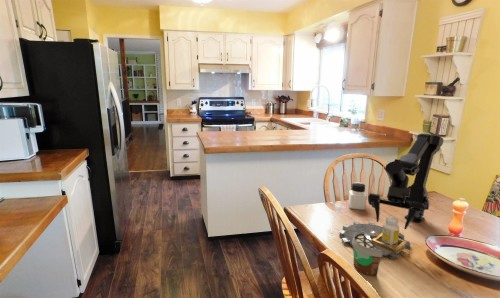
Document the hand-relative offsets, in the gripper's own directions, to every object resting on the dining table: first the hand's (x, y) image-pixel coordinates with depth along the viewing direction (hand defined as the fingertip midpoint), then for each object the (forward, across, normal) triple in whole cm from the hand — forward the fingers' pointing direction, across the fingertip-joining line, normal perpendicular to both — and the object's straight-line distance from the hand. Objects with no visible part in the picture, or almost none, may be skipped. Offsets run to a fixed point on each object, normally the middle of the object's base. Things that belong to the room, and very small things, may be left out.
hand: (390, 225), depth 103 cm
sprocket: (+5, -6, +9) cm, 12 cm away
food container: (+19, -6, -5) cm, 21 cm away
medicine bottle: (-16, -19, +30) cm, 39 cm away
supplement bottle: (+5, 0, +7) cm, 8 cm away
